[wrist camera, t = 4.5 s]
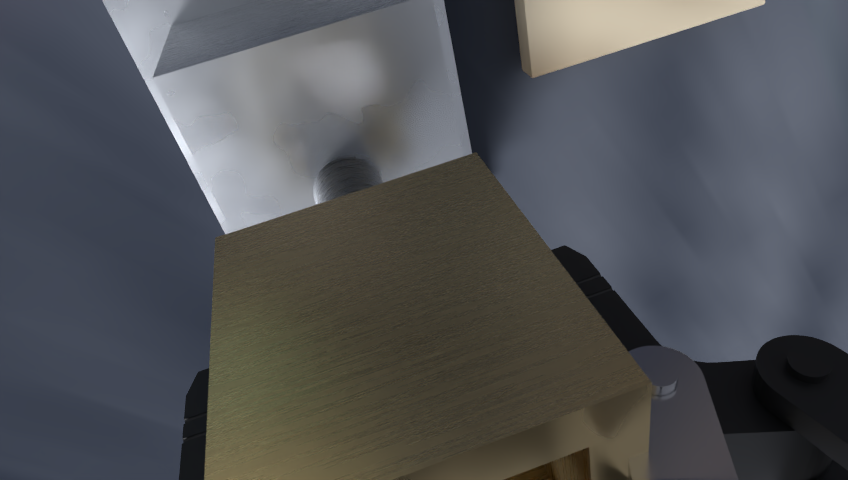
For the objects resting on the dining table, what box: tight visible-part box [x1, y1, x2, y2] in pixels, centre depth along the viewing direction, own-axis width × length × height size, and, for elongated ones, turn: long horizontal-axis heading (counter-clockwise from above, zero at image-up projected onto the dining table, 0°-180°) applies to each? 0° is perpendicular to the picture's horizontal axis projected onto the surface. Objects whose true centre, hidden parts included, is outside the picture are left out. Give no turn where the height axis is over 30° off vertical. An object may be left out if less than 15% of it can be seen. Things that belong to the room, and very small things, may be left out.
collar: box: [204, 152, 652, 480], centre depth 10 cm, size 5×5×6 cm
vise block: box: [102, 0, 472, 234], centre depth 16 cm, size 12×10×14 cm
